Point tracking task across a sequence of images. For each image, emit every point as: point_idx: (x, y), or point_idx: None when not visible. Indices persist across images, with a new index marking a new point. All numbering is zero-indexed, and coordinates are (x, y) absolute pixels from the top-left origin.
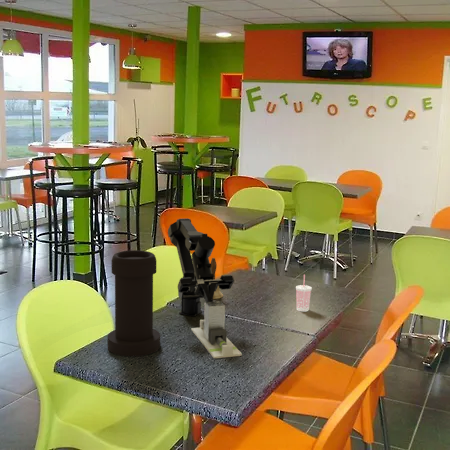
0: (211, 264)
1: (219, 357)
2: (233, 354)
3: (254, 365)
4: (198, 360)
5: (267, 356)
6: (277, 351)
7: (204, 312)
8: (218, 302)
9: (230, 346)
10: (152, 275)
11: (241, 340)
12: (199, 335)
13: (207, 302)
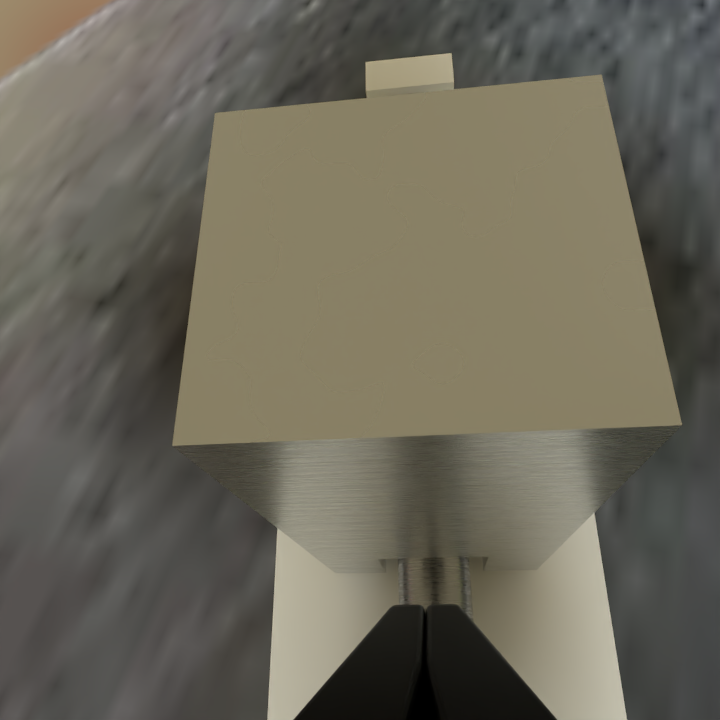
0: None
1: None
2: None
3: (285, 10)
4: (660, 102)
5: (135, 109)
6: (20, 172)
7: (602, 496)
8: (279, 311)
9: (387, 61)
10: None
11: (158, 431)
12: (583, 630)
13: (593, 362)
